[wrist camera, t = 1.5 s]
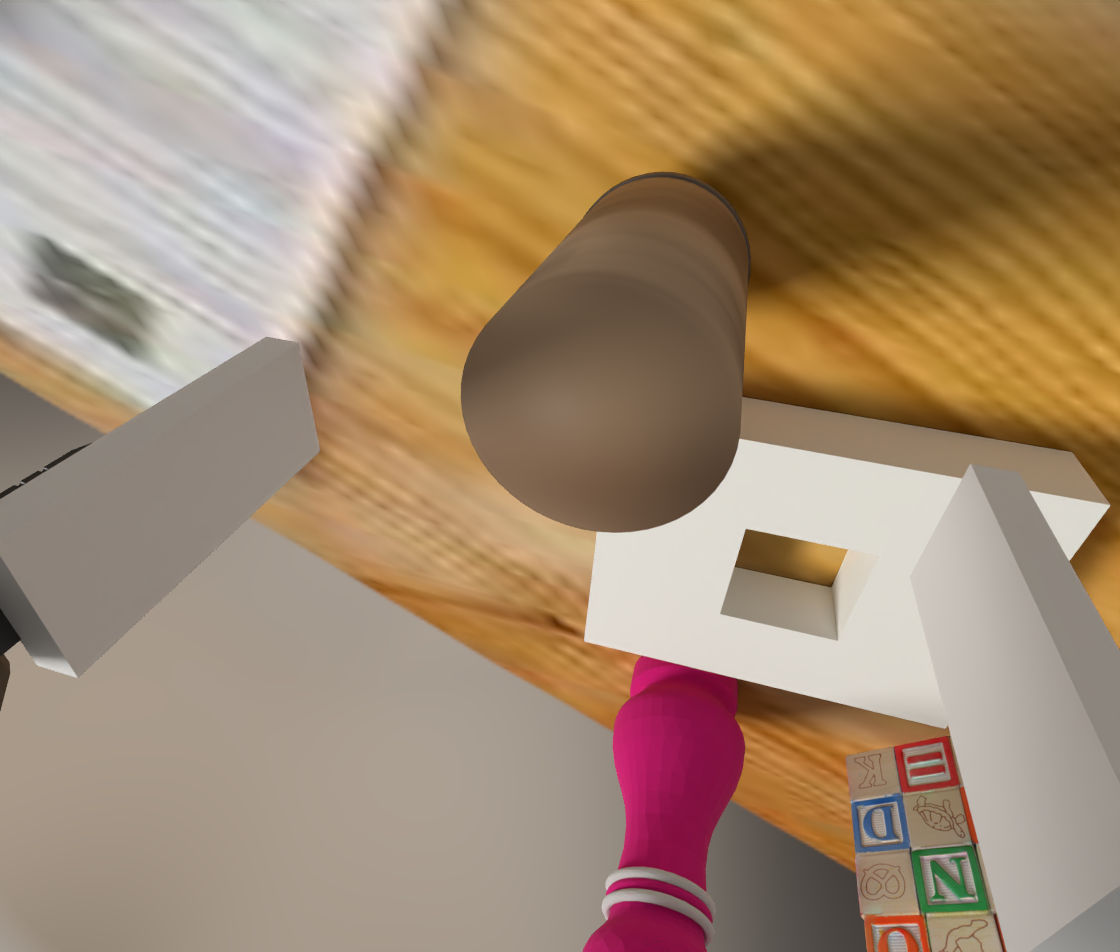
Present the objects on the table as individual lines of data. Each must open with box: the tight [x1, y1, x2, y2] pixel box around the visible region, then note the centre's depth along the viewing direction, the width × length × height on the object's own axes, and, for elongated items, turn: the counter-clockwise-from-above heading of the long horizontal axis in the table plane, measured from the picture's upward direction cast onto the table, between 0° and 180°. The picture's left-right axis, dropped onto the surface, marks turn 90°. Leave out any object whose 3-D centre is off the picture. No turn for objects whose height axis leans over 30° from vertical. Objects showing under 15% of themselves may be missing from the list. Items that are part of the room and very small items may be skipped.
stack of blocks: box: [846, 736, 1007, 952], centre depth 30 cm, size 21×6×12 cm, turn 132°
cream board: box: [584, 397, 1110, 729], centre depth 29 cm, size 14×18×4 cm
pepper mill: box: [583, 655, 745, 952], centre depth 31 cm, size 7×7×20 cm
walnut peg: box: [461, 172, 751, 533], centre depth 19 cm, size 6×6×14 cm
